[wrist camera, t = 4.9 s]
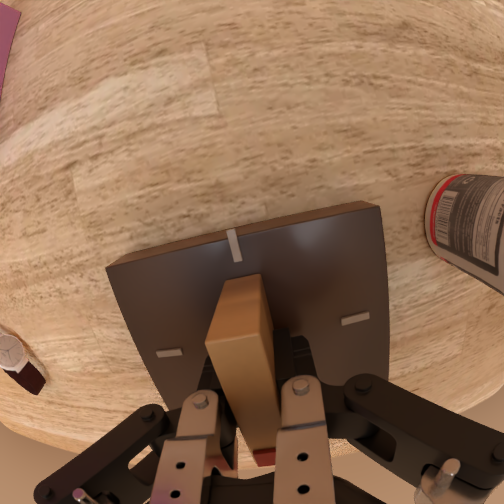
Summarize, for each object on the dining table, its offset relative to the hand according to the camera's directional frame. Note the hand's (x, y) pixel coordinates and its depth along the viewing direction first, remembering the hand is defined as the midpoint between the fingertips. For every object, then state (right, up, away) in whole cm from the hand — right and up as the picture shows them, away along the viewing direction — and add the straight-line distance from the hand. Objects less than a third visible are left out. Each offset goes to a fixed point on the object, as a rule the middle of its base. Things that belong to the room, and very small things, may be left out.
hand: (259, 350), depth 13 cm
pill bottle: (+12, +7, +1) cm, 14 cm away
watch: (-21, -5, +6) cm, 22 cm away
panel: (0, +1, +3) cm, 3 cm away
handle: (0, 0, +1) cm, 1 cm away
